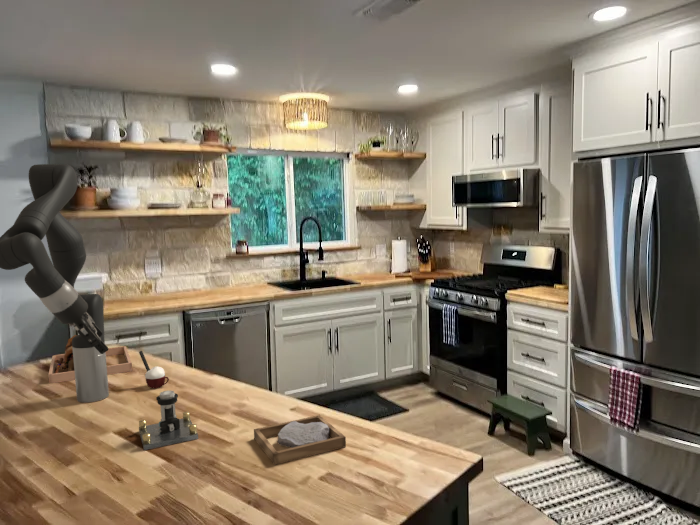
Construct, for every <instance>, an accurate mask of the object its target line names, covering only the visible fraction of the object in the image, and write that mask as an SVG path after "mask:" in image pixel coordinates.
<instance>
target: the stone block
mask: <svg viewBox="0 0 700 525" xmlns="http://www.w3.org/2000/svg"><path fill="white" fill-rule="evenodd" d="M291 421H292V422H290V421H289V422H290V423H289V424H288V425H286V426H284V427H283V428H282V429H281V431H280V432H279V434H278V435H277V441H276V442H277V444H278V445H279V446H281V447H282V446H283V447H287V448H293V447H297V446H302V445H306V444H310V443H314V442H318V441H322V440H327V439H330V437H329V427H328V426H327V424H324V423H322V422H311V423H308V424H303V423H298V422H296V421H294V420H291Z"/></svg>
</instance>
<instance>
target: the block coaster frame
mask: <svg viewBox="0 0 700 525" xmlns="http://www.w3.org/2000/svg"><path fill="white" fill-rule="evenodd" d="M292 421H296V422H298V423H303V424H308V423H311V422H322V423H324V424H327V426H328V427H329V438H328V439H327V440H322V441H318V442H314V443H310V444H306V445H302V446H297V447H293V448H291V447H288V448H286V449H281V450H276V448H275V447H274V446H273V445H272V444H271V443H270V442H269V440H268V438H272V437H278V434H279V432H280V431H281V429H282V428H283V427H284V426H286V425H288V424H289V423H290V422H292ZM253 439H254V440H255V441H256V443H257V444H258V446H259V447H260V448H261V449H262V451H263V452H264V453H265V455H266V456H267V457H268V458H269V459H270V461H271V462H272V463H273V465H279V464H283V463H287V462H290V461H296V460H299V459H303V458H307V457H310V456H314V455H319V454H323V453H326V452H327V453H328V452H331V451H334V450H338V449H339V450H340V449H342V448H346V447H347V444H346V443H347V442H346V441H347V440H346V439H347V438H346V435H344V434H343V433H341V431H339V430H338V429H337V428H336V427H335V426H334V425H332V424H331V423H329V421H327V420H326V419H324V417H322V416H321V415H320V414H318V415H315V416H313V415H312V416H310V417H305V418H299V419H295V420H290V421H287V422H281V423H276V424H272V425H268V426H262V427H258V428H253Z"/></svg>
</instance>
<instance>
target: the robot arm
mask: <svg viewBox="0 0 700 525" xmlns="http://www.w3.org/2000/svg"><path fill="white" fill-rule="evenodd" d="M28 184H29V186H30V191H31V193H32V196H33V199H34V200H32V201H31V202H30V203H28V204H27V205H26V206H24V207H23V208H22V209H21V211H20V213H19V214H18V216H17V217H16V219H15V221H14V223H13V225H11V226H10V228H8V229H7V230H6V231H5V232H4V233H3V234H2V235H1V236H0V269H1V270H6V271H9V270H16V269H18V268H20V267H24V266H26V265H29V264H30V265H31V266H32V267H33V268H31V269H30V270H29V271H28V272H27V273H26V275H25V276H24V282H25V284H26V286H28V287H29V289H31V291H32V292H33V293H34V294H35V295H36V296H37V297H38V298H39V299H40V301H41V303H42V304H43V305H44V307H46V309H48V310H49V312H50V313H51V314H52V315H53V316H54V317H55V318H56V319H57V320H58V321H59V322H60V323H61V324H63V325H68V324H69V325H73V328H74V329H75V330H76V332H77V334H76V335H77V336H75V337H73V336H72V337H73V339H72V349H73V360H74V371H75V382H74V383H75V393H76V394H75V395H76V401H77V402H78V403H93V402H94V403H95V402H98V401H101V400H104V399H107V398H108V397H109V395H110V394H109V391H110V390H109V379H108V375H107V366H108V365H107V356H106V351H108V348H109V347H108V346H107V345H106V343H105V320H104V318H105V317H104V312H105V311H104V302H103V301H104V300H103V298H102V296H101V295H100V294H99V293H86V294H85V293H84V294H79V292H78V291H77V290H76V289H75V284H76V281H77V279H78V277H79V274H80V273H81V271H82V269H83V267H84V265H85V264H86V260H87V252H86V248H85V243H84V240H83V236H82V235H81V233H80V232H79V230H78V229H77V228H76V227H75V226H74V225H73V224H72V223H71V222H70V221H69V220H67V218H65V216H64V215H62V213H61V210H62V209H63V208H64V207H66V206H67V204H68V203H69V201H70V200H71V199H72V198H74V195H75V194H76V193H77V189H78V184H79V183H78V177H77V173H76V170H75V169H74V167H73V166H72V165H69V164H65V163H48V164H47V163H45V164H43V163H42V164H38V163H37V164H34V165H31V166H30V167H29V169H28ZM44 237H46V242H47V248H48V250H49V254H48V252H47V249H46V247H45V245H44V243H43V241H42V240H43V239H44ZM49 255H50V256H49Z"/></svg>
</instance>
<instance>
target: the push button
mask: <svg viewBox="0 0 700 525" xmlns="http://www.w3.org/2000/svg"><path fill="white" fill-rule="evenodd" d="M178 398H179V394H178V393H175V391H174V390H164V391H161V392H160V393H159V395H157V396H156V398H155V400H156V403H157V404H158V405H159V406H160V415H161V419H160V421H159V422H158V423H159V427H158V428H155V430H156V429H159V431H156V432H154V433H158V432H162V433H166V432H169V431H173V430H175V429H179V428H180V421H179V419H180V418H178V417H177V415H176V403H177V402H178Z"/></svg>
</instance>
